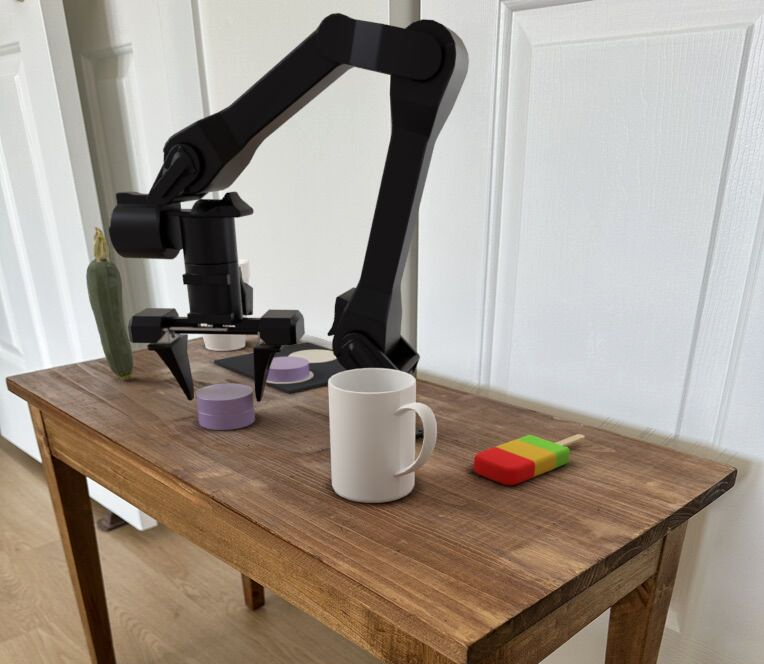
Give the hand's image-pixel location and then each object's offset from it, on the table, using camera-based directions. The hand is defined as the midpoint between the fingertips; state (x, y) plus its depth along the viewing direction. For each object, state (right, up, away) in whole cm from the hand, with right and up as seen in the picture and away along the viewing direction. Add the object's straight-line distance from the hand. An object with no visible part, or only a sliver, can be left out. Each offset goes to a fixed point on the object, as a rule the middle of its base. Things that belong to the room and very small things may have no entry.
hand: (225, 400), depth 89 cm
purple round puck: (+5, +6, +16) cm, 18 cm away
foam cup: (-7, +13, +34) cm, 37 cm away
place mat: (+6, +8, +22) cm, 24 cm away
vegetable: (-18, +5, +16) cm, 24 cm away
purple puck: (0, -1, 0) cm, 1 cm away
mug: (+19, -12, -17) cm, 28 cm away
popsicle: (+34, -8, -10) cm, 37 cm away
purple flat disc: (0, -2, +1) cm, 3 cm away
